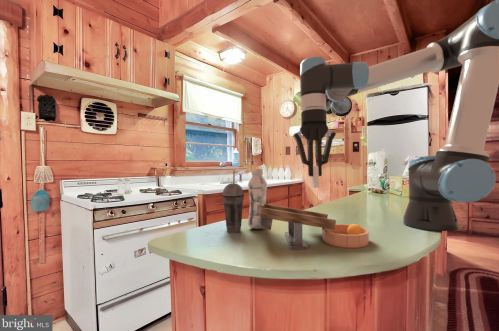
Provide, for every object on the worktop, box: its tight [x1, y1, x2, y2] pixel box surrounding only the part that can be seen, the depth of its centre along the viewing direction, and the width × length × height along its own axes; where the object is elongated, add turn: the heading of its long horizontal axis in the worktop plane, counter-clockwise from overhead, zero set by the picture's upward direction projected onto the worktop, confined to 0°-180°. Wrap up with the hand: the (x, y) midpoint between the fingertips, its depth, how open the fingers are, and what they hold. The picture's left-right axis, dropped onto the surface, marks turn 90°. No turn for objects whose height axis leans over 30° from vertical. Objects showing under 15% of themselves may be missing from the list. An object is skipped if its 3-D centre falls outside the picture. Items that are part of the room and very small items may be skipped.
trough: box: [259, 202, 337, 231], centre depth 74 cm, size 20×15×6 cm
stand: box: [284, 222, 308, 250], centre depth 71 cm, size 4×13×6 cm, turn 179°
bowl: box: [321, 223, 370, 249], centre depth 71 cm, size 12×12×3 cm
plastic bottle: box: [247, 168, 268, 230], centre depth 85 cm, size 6×7×20 cm
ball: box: [347, 223, 363, 235], centre depth 71 cm, size 4×4×4 cm
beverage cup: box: [221, 169, 245, 233], centre depth 83 cm, size 7×7×20 cm
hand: (315, 186), depth 78 cm, fingers closed
